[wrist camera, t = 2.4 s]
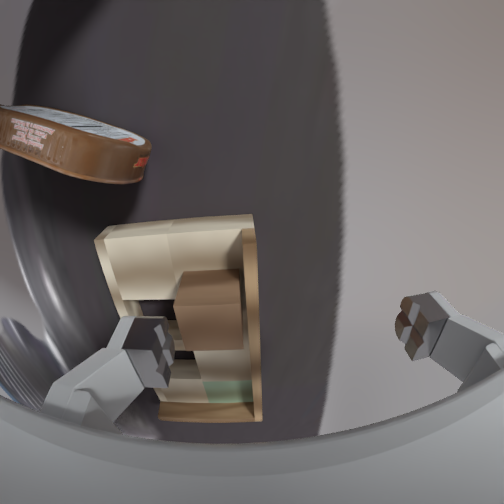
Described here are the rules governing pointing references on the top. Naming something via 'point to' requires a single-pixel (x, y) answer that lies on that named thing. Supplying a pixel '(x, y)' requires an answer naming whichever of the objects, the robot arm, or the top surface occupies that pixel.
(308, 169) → the top surface
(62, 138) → the tin
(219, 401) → the board
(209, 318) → the walnut block
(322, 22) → the top surface
